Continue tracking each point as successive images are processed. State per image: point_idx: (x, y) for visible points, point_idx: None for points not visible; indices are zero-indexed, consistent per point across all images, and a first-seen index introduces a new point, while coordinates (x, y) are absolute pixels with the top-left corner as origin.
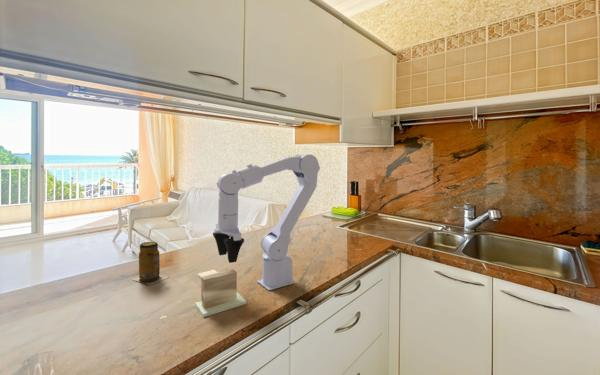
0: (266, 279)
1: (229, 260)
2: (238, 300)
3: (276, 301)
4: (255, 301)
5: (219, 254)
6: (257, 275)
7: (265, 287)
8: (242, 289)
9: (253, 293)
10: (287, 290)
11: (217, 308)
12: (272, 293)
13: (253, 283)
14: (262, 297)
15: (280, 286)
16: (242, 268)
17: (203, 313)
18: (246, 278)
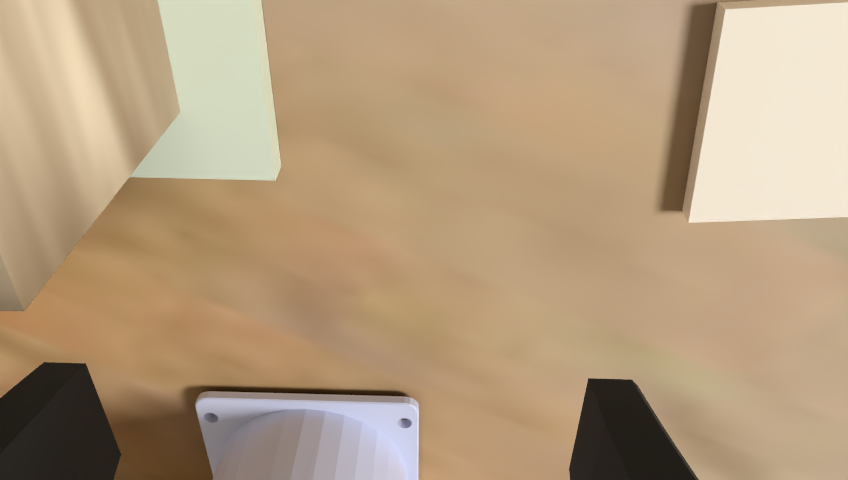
0: (259, 459)
1: (5, 398)
2: None
3: (5, 352)
4: None
5: (617, 387)
6: (544, 445)
7: (256, 395)
8: (349, 248)
9: (219, 286)
10: (154, 472)
11: None
12: (151, 387)
13: (412, 363)
14: (112, 308)
15: (213, 470)
16: (791, 423)
17: None
18: (553, 363)
